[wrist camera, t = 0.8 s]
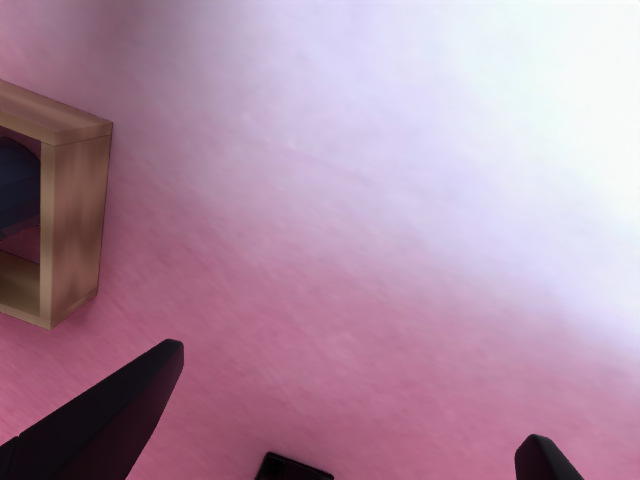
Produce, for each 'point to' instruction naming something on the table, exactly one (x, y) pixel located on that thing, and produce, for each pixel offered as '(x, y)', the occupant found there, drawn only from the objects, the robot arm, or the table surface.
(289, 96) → the table surface
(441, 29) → the table surface
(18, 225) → the tumbler
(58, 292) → the crate
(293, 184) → the table surface
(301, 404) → the table surface
